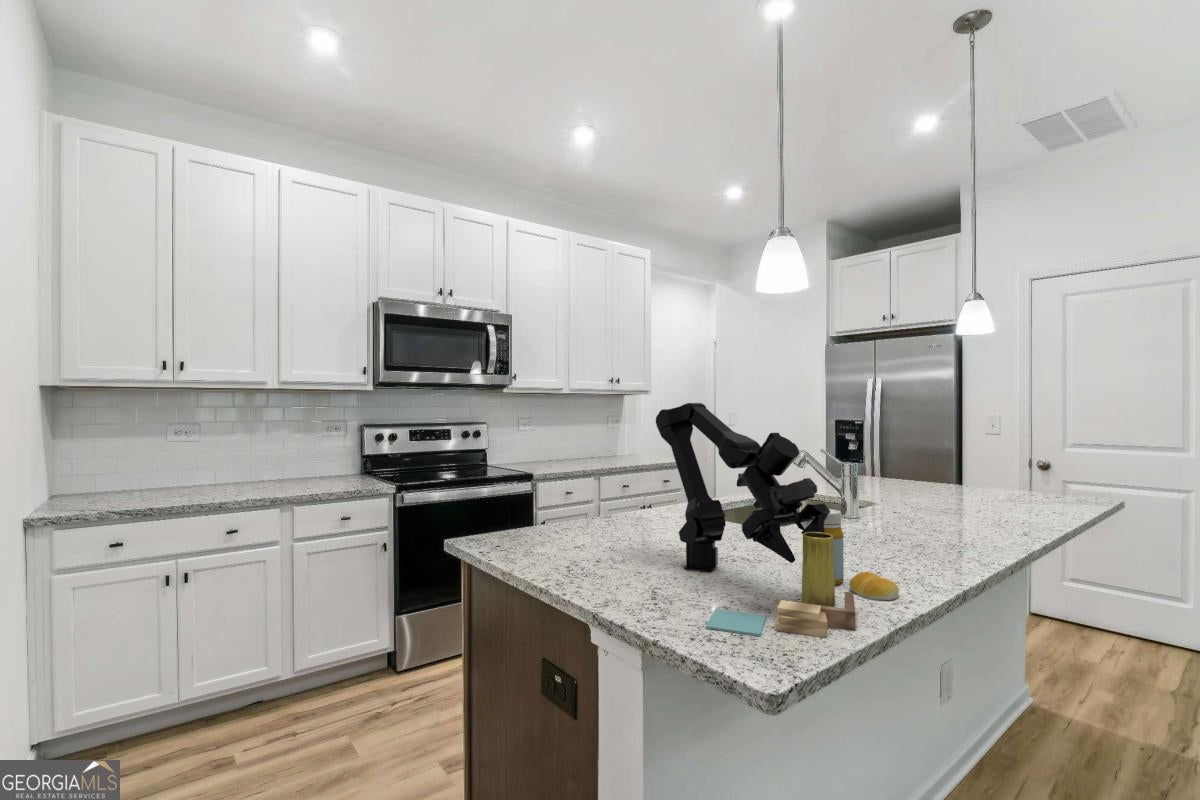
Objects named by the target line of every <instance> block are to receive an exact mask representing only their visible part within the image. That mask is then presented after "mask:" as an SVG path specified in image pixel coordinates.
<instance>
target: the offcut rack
mask: <svg viewBox="0 0 1200 800" xmlns="http://www.w3.org/2000/svg"><path fill="white" fill-rule="evenodd" d="M776 615H777V616H776V619H775V621H774V631H777V632H784V633H789V634H790V633H792V634H796V635H797V634H798V635H806V636H810V637H811V636H812V637H819V638H827V630H828V628H835V629H844V630H850V631H856V605H855V593H854V592H853V591H851V592H850V591H844V607H839V606H838V607H836V606H835V607H830V606H822V605H813V604H806V603H801V602H798V601H790V600H784V599H781V600H778V601H777V607H776Z"/></svg>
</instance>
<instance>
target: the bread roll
mask: <svg viewBox="0 0 1200 800" xmlns="http://www.w3.org/2000/svg"><path fill="white" fill-rule="evenodd" d="M849 588H850V590H851V592H853V594H856V595H859V596H862V597H863V598H866V599H868V600H873V599H874V601H875V600H877V601H893V599H894V600H895V599H897V598H898V597H899V593H900V592H899V591H900V590H899V587H898V585H897V584H896V583H895V582H894V581H893V580H890V579H887V578H883V577H881V576H880V575H878V574H876V573H874V572H870V571H869V572H868V571H864V572H858V573H857V574H855V575H854V576H852V578H851V579H850V580H849Z"/></svg>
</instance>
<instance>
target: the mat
mask: <svg viewBox="0 0 1200 800" xmlns="http://www.w3.org/2000/svg"><path fill="white" fill-rule="evenodd" d="M766 620H767V614H761V613H760V614H759V613H752V612H745V611H744V612H743V611H736V610H731V609H721V608H715V610H714V611H713V613H712V614H711V616H710V618H709V620H708V622H707V623H706V625H705V629H706V628H710V629H709V630H712V629H718V630H717V631H719V630H723V631H722V632H726V631H729V632H728V633H733V632H735V633H734V634H740V633H741V634H742V635H747V636H755V637H761V635H762V633H763V629H764V627H765V624H766ZM741 634H740V635H741Z"/></svg>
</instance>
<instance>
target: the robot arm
mask: <svg viewBox="0 0 1200 800" xmlns="http://www.w3.org/2000/svg"><path fill="white" fill-rule="evenodd" d="M655 425H656V427H657V428H656V429H657V430H658V432H659V435H660V437H661V438H662V439H663V440H664V442H666V443H667V444H668V445H669V446H670V447H671V451H672V454H673V455H672V456H673V457H674V461H675V464H676V468H677V471H678V473H679V476H680V480H681V483H682V486H683V490H684V493H685V496H686V501H687V504H686V505H687V506H686V509H685V512H684V513H685V514H684V516H685V522H684V524H683V526H682V527H681V529H680V530H679V531H678V536H679V541H680V542H681V543H682V542H683V543H684V544H685V566H684V567H683V569H684V570H687V571H698V572H708V573H713V572H714V570H715V568H717V566H718V564H719V548H718V547H717V546H716V542H721V541H722V538H723V535H724V531H725V528H726V525H727V523H726V516H727V515H726V514H725V512H724V510H723V508H722V503H721V500H720V499H713V498H712V497H710V495H709V493H708V490H707V486H706V484H705V481H704V477H703V475H702V471H701V469H700V465H699V462H698V459H697V457H696V453H695V449H694V448H693V443H692V441H691V438H692V435H693V431H694V427H695V428H696V429H698V431H700V432H701V433H702V434H703V435H704V436H705V437H706V438H707V439H708V440H709V441H711V442H712V443H713V444H714V445H715V446H716V448H717V449H718V450H717V451H718V456H719V457H720V458H721V460H722V461H723V462H724V464H725V465H726V466H727V467H728V468H730V469H733V470H734V469H744V471H743V472H742V473H741V472H740V473H738V474H737V480H736V487H737V488H738V487H739V488H741V487H747V488H748V491H749V492H750V493H751V494H752V495H751V496H752V497H753V498H754V500H755V501H754V503H753V506H754V508H755V509H756V510H752V512H751V513H750V514H749V516H748V517H747V518H746V519H745V520H744V522H743V523H741V532H742V534H743V536H744V537H745V539H746V540H752V541H753V542H754V543H759V544H760V545H761V546H764V547H765V548H767V549H769V550H770V551H772V552H773V553H775V554H777V555H778V556H780V557H781V558H782V559H784V560H786V561H787V562H789V563H790V564H792V563H795V561H796V557H795V555H794V553H793V551H792V550H791V547H790V546H789V544H788V542H787V541H786V539H785V537H784V536H783V534H782V533H781V526H787V525H791V524H795V525H796V526H797V528H798V529H800V530H802V531H800V534H801V535H803V533H805V532H822V533H825V531H824V521H825V520H826V519H827V517H828V514H829V513H830V510H829V509H830V508H829V507H828V506H827V504H825V503H823V502H814V503H807V504H806V505H805V506H804V507H803V509H801V510H800V511H798V509H800V508H801V507H802V506H803V503H802V502H804V501H806V500H808V499H814V498H815V494H817V493H818V485H817V484H816V483H815V482H814V481H813V480H812V479H811V478H810V477H806V478H803V479H802V480H801V479H800V480H798V481H794V482H790V483H788V484H780V483H779V480H778V479H776V477H777V476H782V475H783V474H784V473H786V471H787V470H788V468H789V467H790V466H791V465H792V463H793V462H794V461H795V460H796V459H797V457H798V456H799V455H800V449H799V448H798V446H797V444H796V443H794V442H792V441H791V440H790V439H788V438H786V437H784V436H782V435H781V433H780V432H770V433H769V434H768V435H767V438H766V439H765V441H764V442H763V444H762V445H760V444H759V442H758V441H756V440H755V439H753V438H751V437H750V436H749V437H748V436H747V435H744V434H741V433H737V432H735V431H734V430H733V429H731V428H730V427H729V426H727V425H726V424H725V423H724V422H723V421H722V420H720V419H719V418H718V417H717V416H716V415H715V414H714V413H712V411H710V410H709V409H708V408H707V407H706V405H705V404H704V403H701V402H687V403H685V404H682V405H679V406H677V407H676V406H675V407H673V408H668V409H666V408H665V409H663V408H662V409H661V410H660V411H659V412H658V414H657V415H656V417H655ZM775 476H776V477H775ZM757 509H758V510H757Z"/></svg>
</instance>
